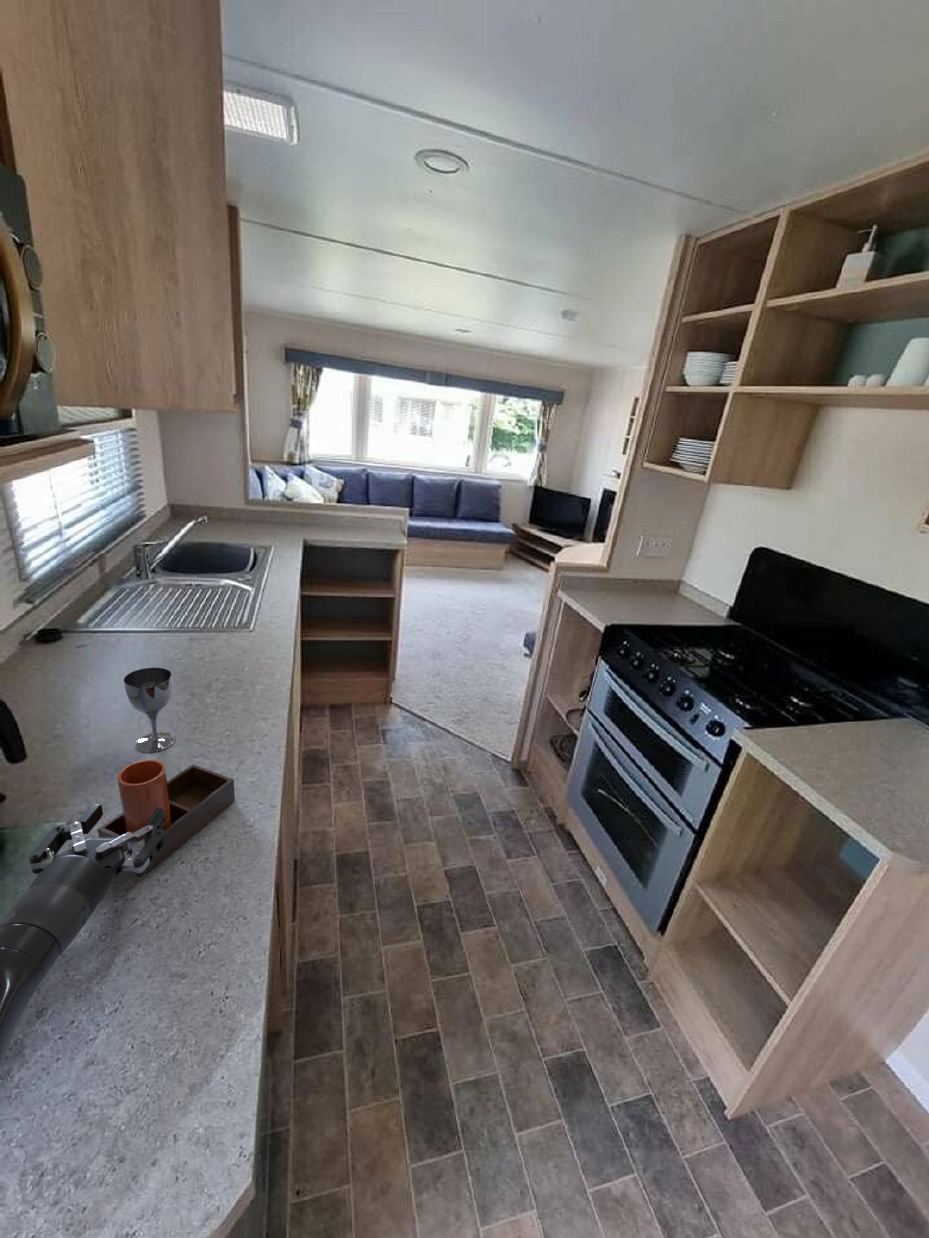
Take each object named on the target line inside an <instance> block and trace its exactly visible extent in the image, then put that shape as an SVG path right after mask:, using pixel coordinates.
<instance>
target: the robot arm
mask: <svg viewBox="0 0 929 1238" xmlns="http://www.w3.org/2000/svg"><path fill="white" fill-rule="evenodd" d="M103 816H104V810H103V805H102V804H94V805H93V806H92V807H89V808H88V809H87V810H86V811H84V812H83V814H82V815H81V816H80V818H78V819H77V821H74V822H71V824H69V825H67V826H65V825H64V824H62V823H61V824H60V823H59V824H56V825H55V826H53V827H52V828H51V830H50V831H49V832H48V833H47V835H46V836H45V837H44V838H43V839H42V840H41V842H40V843H39V844H38V845H37V846H36V847H35V848H34V850H33V851H32V852H31V853H30V854H29V856H28V859H29V864H30V868H31V872H32V874H34V875H35V874H36V875H38V874H39V875H38V876H37V877H36V878H35V880H34V881H33V882H32V883H31V884H30V885H29V887H28V888H27V889H26V890H25V891H24V892H23V894H22V895H21V896H20V897H19V898H18V899H17V900H16V902H15V903H14V904H13V905H12V906H11V908H10V909H8V911H7V913H6V914H5V915H4V916H3V918H2V920H0V1070H1V1069H2V1066H3V1064H4V1060H5V1058H6V1055H7V1052H8V1049H9V1048H10V1047H9V1046H10V1045H11V1043H12V1039H13V1036H14V1034H15V1032H16V1030H17V1027H18V1026H19V1023H20V1020H21V1019H22V1017H23V1014H24V1012H25V1011H26V1009H27V1007H28V1005H29V1003H30V1001H31V999H32V997H33V996H34V994H35V992H36V991H37V990H38V988H39V986H40V985H41V984H42V982H43V981H44V980H45V978H46V976H47V975H48V974H49V972H50V971H51V969H52V968H53V966H55V963H56V962H57V961H58V960H59V958H60V956H61V955H62V954H63V953H64V952H65V951H66V949H67V948H68V947H69V946H70V945H71V944H72V943H73V941H74V940H75V938H76V937H77V936H78V934H79V933H80V932H81V930H82V929H83V927H84V926H85V925H86V924H87V922H88V920H89V918H90V917H91V916H92V914H93V913H94V912H95V910H96V909H97V907H98V905H99V904H100V902H102V900H103V898H104V896H105V895H106V894H107V892H108V891H109V889H110V888H111V885H112V883H113V881H114V880H115V878H116V877H117V876H119V875H121V873H123V872H131V873H134V876H135V878H142V877H144V876H145V875H146V874H148V873H147V871H148V870H149V868H150V867H151V866H152V864H153V863H154V861H155V860H156V859H157V857H158V856H159V854H160V853H161V852H162V850H163V849H164V847H165V846H166V840H165V832H164V830H163V829H161V828H162V826H163V824H164V823H165V821H166V817H165V812H164V811H163V808H156V810H155V811H154V812H153V814H152V815H151V817H150V818H149V820H148V821H147V822H146V824H145V827H143V828H141V829H139V830H137V831H135V832H128V833H126V834H124V835H122V836H120V837H118V838H117V837H109V838H101V837H99V836H94V835H93V836H92V837H91V838H87V839H85V836H84V835H89V833H90V832H91V831H92V829H94V827H95V826H96V825H97V824H98V822H99V821H100V820H101V819H102V818H103ZM142 837H144V839H143V840H141V841H139V842H137V841H138V840H139V839H140V838H142ZM68 841H71V842H72V846H70V847H69V848H67V849H65V850H63V851H61V852H59V851H60V850H61V849H62V847H63V846H64V845H65V844H66V842H68ZM126 843H127V845H128V849H127V851H126V852H124V851H123V847H122V845H124V844H126ZM140 850H141V851H140ZM139 851H140V852H139ZM58 852H59V853H58Z"/></svg>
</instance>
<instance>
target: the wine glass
mask: <svg viewBox="0 0 929 1238" xmlns="http://www.w3.org/2000/svg"><path fill="white" fill-rule="evenodd" d="M123 685H124V692H125V695H126V698H127V701H128V702H129V705H130V706H131V708H133V709H134V710H135V711H136V712H138V713H140V714H142V715H144V716H145V717H146V718H147V719H148V720H149V724H150V726H151V733H148V734H145V735H146V736H145V735H143V736H142V737H140V738H141V739H140V738H139V739H138V740H137V741H138V743H136V742H135V744H136V745H134V747H135V749H136V750H137V751H138V750H139V751H138V752H141V753H145V754H146V753H148V754H149V753H151V752H152V753H157V752H156V751H157V750H158V752H161V751H160V750H161V749H163V748H164V747H168V746H169V744H170V743H171V742H170V741H174V738H173V737H172V736H171V734H172V733H171V734H169V733H170V732H168V733H163V732H164V731H159V732H160V733H157V732H158V731H157V721H158V716H159V714H160V713H161V712H162V711H163V710H164V709H165V707H166V706H168V704H169V703H170V702H171V701H170V700H171V698H172V692H173V675H172V672H171V671H170V670H169V669H167V668H162V667H146V668H140V669H137V670H133V671H131V672H129V673H128V674H127V675H125V676H124V678H123ZM170 745H171V744H170ZM137 748H138V749H137Z"/></svg>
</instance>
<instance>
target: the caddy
mask: <svg viewBox="0 0 929 1238" xmlns="http://www.w3.org/2000/svg"><path fill="white" fill-rule="evenodd" d="M167 787H168V796H169V804H170V813H171V822H172V825H171V826H169V827H168V828H167V829H166V830H164V832H165V840H166V846H165V847H164V849H163V850H162V852H161V853H160V854H159V856H158V857H157V859H156V860H155V861H154V863H153V864H152V866H151V867H150V868H149V870H148V871H147V873H146V874H149V873H150V872H151V871H152V870H153V869H154V868H156V867H157V866H159V864H161V863H162V862H163V861H164V860H165V859H167V858H168V857H169V856H170V855H171V854H173V853H174V852H175V851H176V850H177V849H179V848H180V847H181V846H182V845H183V844H185V843H186V842H187V841H188V840H190V839H191V838H192V837H193V836H194V835H195V834H197V833H198V832H199V831H200V830H201V829H203V828H204V827H205V826H206V825H207V824H209V822H211V821H212V820H213V819H214V818H215V817H217V816H218V815H219V814H220V813H222V812H223V811H224V810H225V809H227V807H229V806H230V805H231V804H232V803H234V802H235V801H236V795H235V794H236V793H235V780H234V779H233V778H230V777H228V776H226V775H223V774H220V773H218V772H215V771H212V770H211V769H207V768H204V767H202V766H199V765H197V764H195V763H192V764H191V765H190V766H188V767H186V768H185V769H184V770H182V771H180V772H179V773H178V774H176V775H175V776H173V777H172V778H170V779H169V780H167ZM97 832H98V833H97V834H98V837H101V838H109V837H117V838H118V837H120V836H122V835H124V834H126V830H125V823H124V817H123V811H122V812H120V813H119V814H117V815H116V816H114V817H113V818H111V819H110V820H109V821H107V822H106V823H104V824H102V825H101V826H100V827H99V828H97ZM122 847H123V851H124V852H126V851H127V849H128V845H127V843H126V844H124V845H122ZM140 851H141V850H140ZM140 851H139V852H140Z"/></svg>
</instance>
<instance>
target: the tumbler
mask: <svg viewBox="0 0 929 1238" xmlns="http://www.w3.org/2000/svg"><path fill="white" fill-rule="evenodd" d="M166 771H167V770H166V765H165V764H164V763H163V762H162V761H159V760H157V759H143V760H138V761H135V762H132V763H130V764H128V765H126V766H124V767H123V768H122V769H121V770H120V771H119V773H118V774H117V785H118V790H119V797H120V798H119V799H120V804H121V811H122V812H123V817H124V823H125V830H126V833H128V832H135V831H137V830H139V829H141V828H143V827H145V824H146V822H147V821H148V820H149V818H150V817H151V815H152V814H153V812H154V811H155V810H156V808H163V811H164V812H165V817H166V821H165V823H164V824H163V826H162V828H161V829H163V830H166V829H167V828H168V827H169V826H171V825H172V822H171V813H170V804H169V796H168V787H167V781H168V779H167V772H166ZM143 839H144V837H142V838H140V839H139V840H138V841H137V842H139V841H141V840H143Z"/></svg>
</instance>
